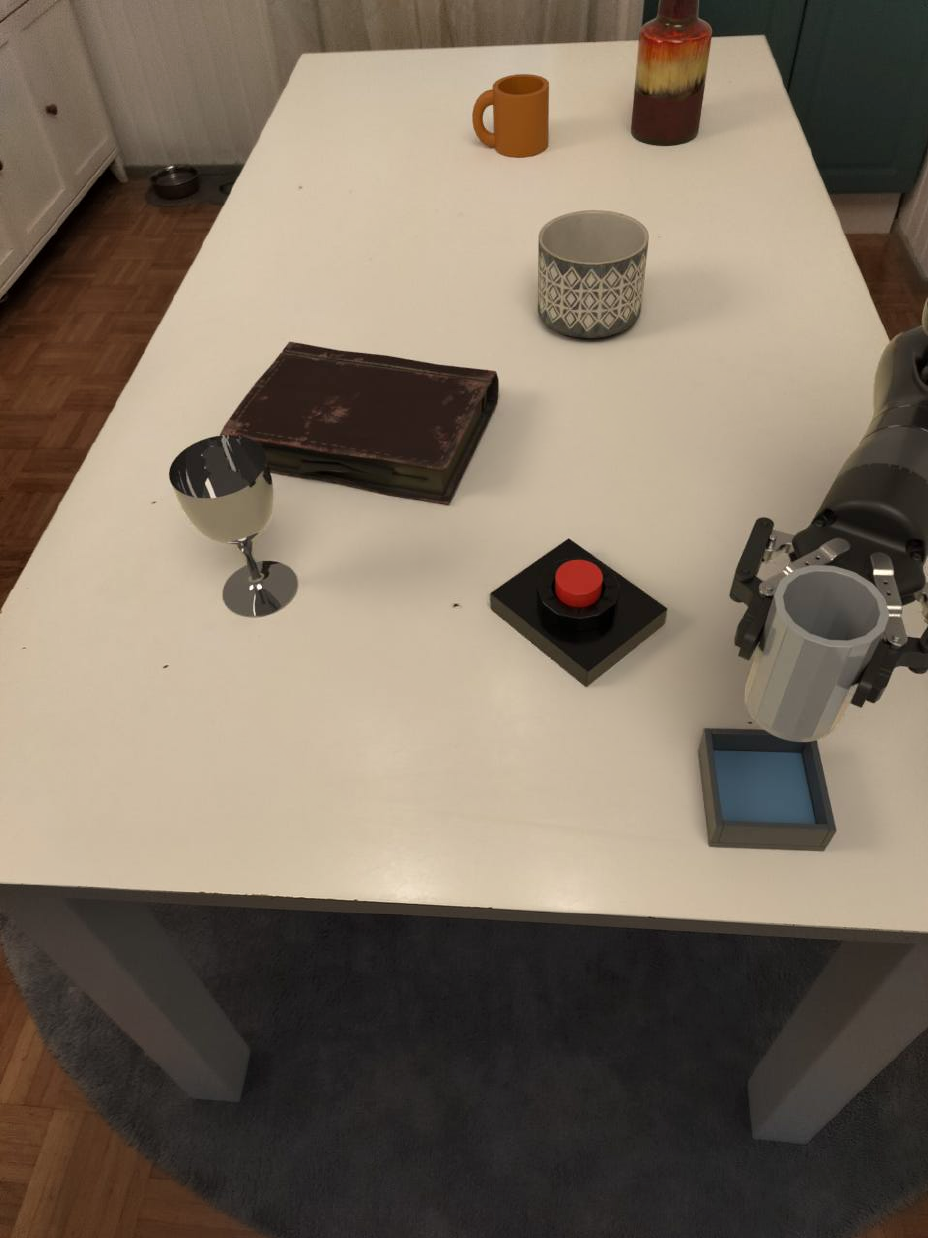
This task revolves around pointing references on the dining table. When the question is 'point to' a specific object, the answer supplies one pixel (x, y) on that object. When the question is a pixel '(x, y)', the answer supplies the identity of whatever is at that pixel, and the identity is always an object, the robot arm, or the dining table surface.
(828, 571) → the tumbler
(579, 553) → the control block
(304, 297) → the dining table surface
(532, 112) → the mug
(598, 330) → the planter
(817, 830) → the tray
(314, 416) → the diary
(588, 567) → the button
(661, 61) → the vase
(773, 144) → the dining table surface
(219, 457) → the wine glass
